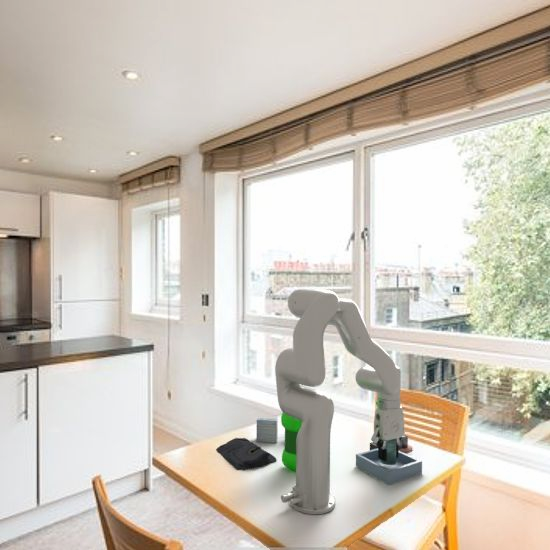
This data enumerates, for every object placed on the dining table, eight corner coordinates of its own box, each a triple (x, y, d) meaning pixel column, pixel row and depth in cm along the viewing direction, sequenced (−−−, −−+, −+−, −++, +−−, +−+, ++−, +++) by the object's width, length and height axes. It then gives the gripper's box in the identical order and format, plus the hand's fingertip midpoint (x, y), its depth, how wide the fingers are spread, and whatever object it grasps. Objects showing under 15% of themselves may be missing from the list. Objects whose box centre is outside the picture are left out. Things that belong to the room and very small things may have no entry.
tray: (389, 484, 130) (389, 471, 130) (355, 466, 143) (355, 454, 143) (422, 473, 138) (422, 461, 138) (387, 456, 151) (387, 445, 151)
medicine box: (277, 439, 167) (277, 416, 167) (276, 443, 162) (276, 420, 162) (257, 438, 167) (258, 416, 167) (256, 442, 163) (256, 419, 163)
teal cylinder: (388, 466, 137) (388, 441, 137) (377, 460, 141) (377, 436, 141) (399, 462, 139) (399, 438, 140) (388, 457, 144) (388, 433, 144)
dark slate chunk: (249, 442, 164) (249, 430, 164) (279, 464, 145) (279, 450, 145) (212, 450, 156) (213, 437, 156) (239, 474, 137) (239, 459, 137)
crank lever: (400, 443, 161) (400, 433, 161) (411, 447, 157) (411, 437, 157) (369, 451, 153) (369, 441, 153) (379, 456, 149) (379, 445, 149)
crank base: (403, 453, 153) (403, 452, 153) (388, 447, 159) (388, 445, 159) (416, 449, 157) (416, 448, 157) (401, 443, 163) (401, 441, 163)
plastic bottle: (292, 478, 133) (292, 399, 134) (275, 466, 142) (275, 391, 143) (317, 471, 139) (318, 395, 139) (299, 459, 148) (300, 387, 148)
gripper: (378, 409, 133) (377, 468, 133) (415, 402, 142) (414, 456, 142) (361, 403, 139) (361, 459, 139) (398, 396, 148) (397, 448, 148)
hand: (388, 457), depth 140 cm, fingers closed on teal cylinder, 4 cm apart
